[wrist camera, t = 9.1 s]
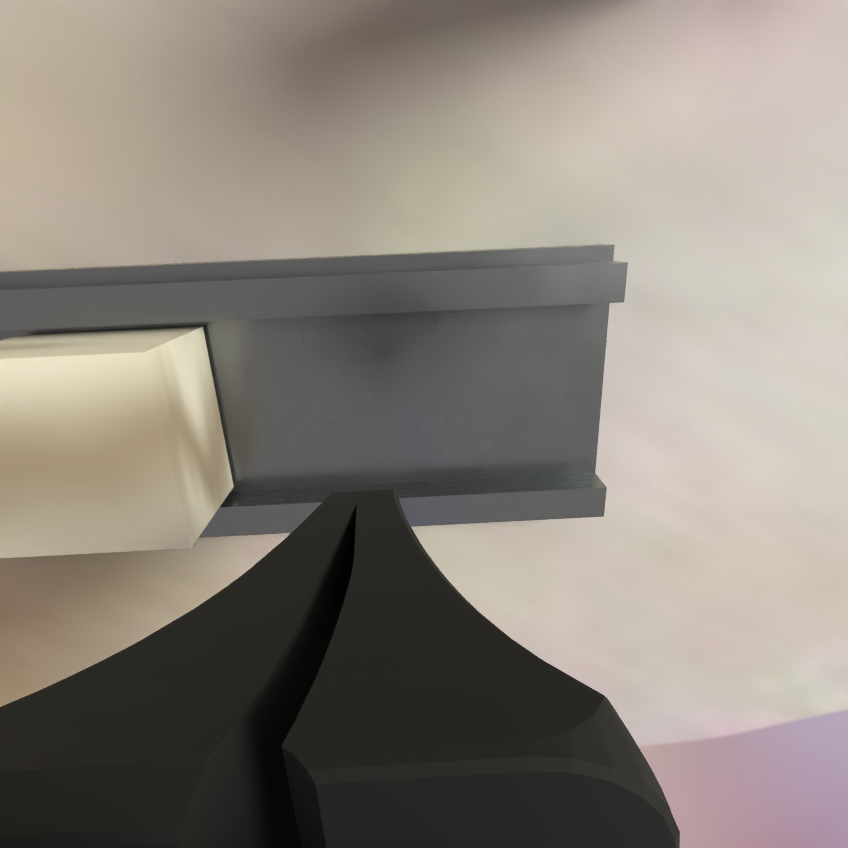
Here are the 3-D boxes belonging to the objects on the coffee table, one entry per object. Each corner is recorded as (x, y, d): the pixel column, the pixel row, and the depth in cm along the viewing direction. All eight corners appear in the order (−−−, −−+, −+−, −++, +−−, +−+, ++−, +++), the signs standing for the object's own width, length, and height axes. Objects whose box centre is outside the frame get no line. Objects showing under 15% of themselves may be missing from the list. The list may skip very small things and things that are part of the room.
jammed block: (233, 486, 19) (190, 548, 15) (72, 495, 19) (-11, 558, 15) (202, 326, 17) (144, 352, 13) (21, 335, 17) (-89, 363, 13)
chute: (585, 501, 21) (605, 532, 19) (46, 529, 21) (3, 564, 18) (605, 244, 17) (633, 245, 15) (-44, 273, 17) (-109, 278, 15)
